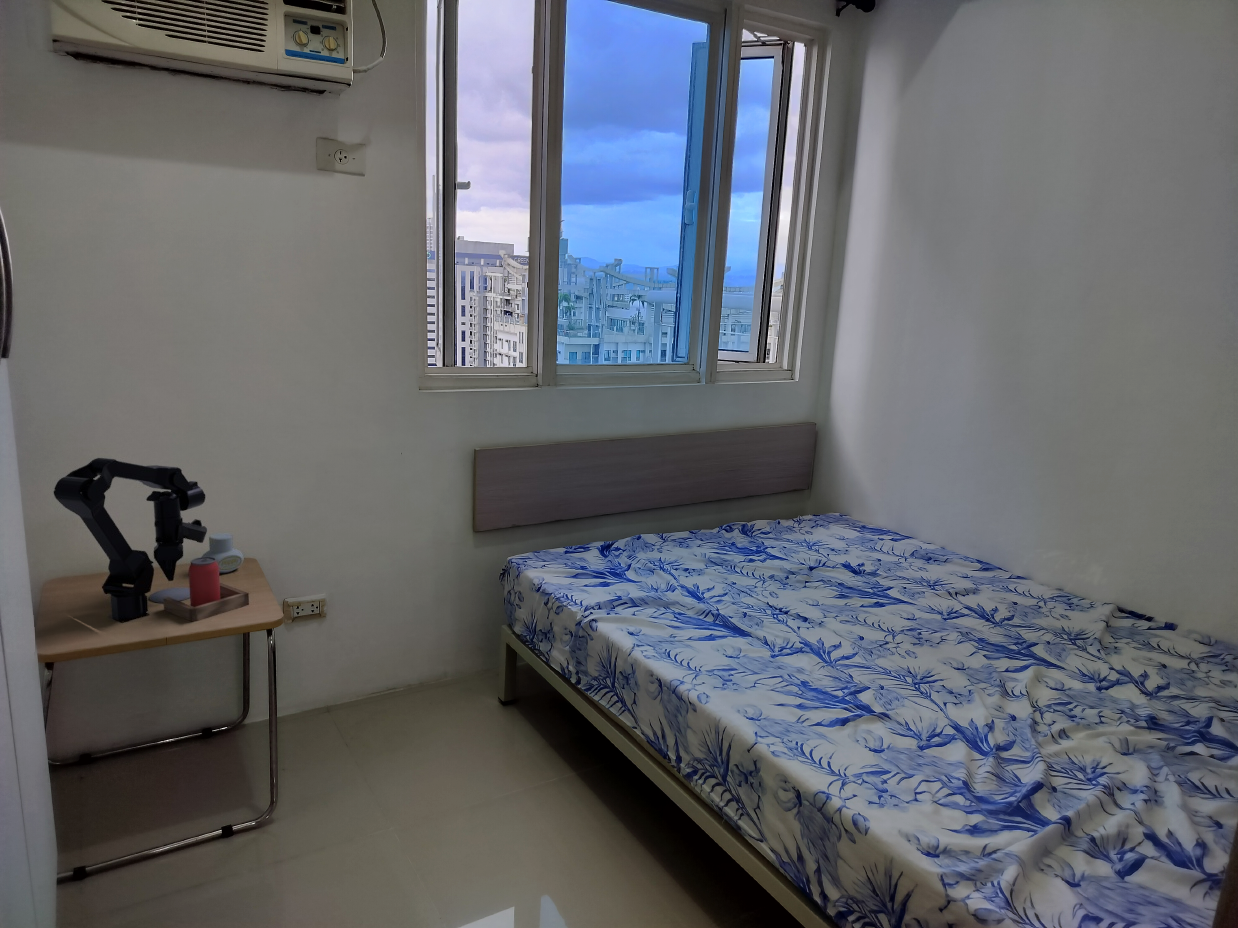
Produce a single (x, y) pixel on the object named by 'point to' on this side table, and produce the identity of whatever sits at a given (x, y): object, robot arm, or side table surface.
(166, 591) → the coaster
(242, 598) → the tray
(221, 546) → the air freshener
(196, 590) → the beer can
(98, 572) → the side table surface
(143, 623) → the side table surface
